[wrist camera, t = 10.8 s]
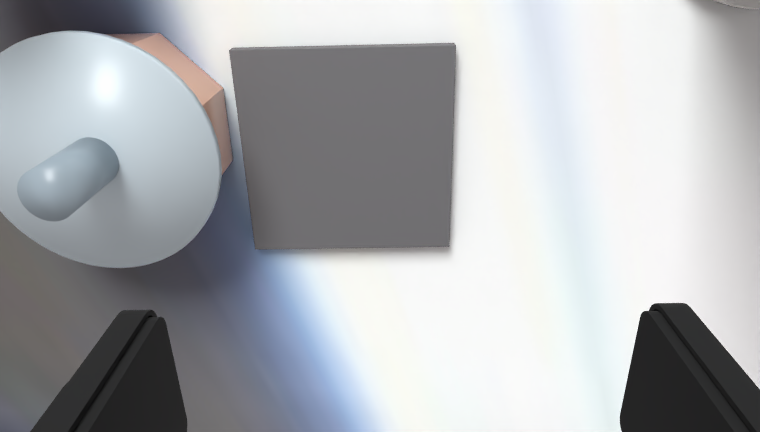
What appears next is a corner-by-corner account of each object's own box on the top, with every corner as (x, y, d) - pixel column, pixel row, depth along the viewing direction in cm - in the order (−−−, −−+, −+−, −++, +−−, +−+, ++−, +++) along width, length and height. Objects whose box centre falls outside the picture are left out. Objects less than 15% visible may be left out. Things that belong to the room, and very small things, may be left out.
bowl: (215, 31, 36) (184, 46, 30) (239, 206, 41) (217, 245, 36) (26, 35, 36) (-38, 51, 31) (73, 209, 41) (26, 248, 36)
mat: (454, 43, 36) (455, 45, 35) (447, 240, 42) (449, 246, 41) (233, 47, 36) (229, 50, 35) (258, 243, 42) (255, 249, 41)
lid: (201, 27, 30) (162, 44, 25) (236, 260, 36) (210, 313, 31) (-61, 33, 30) (-155, 50, 25) (16, 263, 36) (-47, 316, 31)
